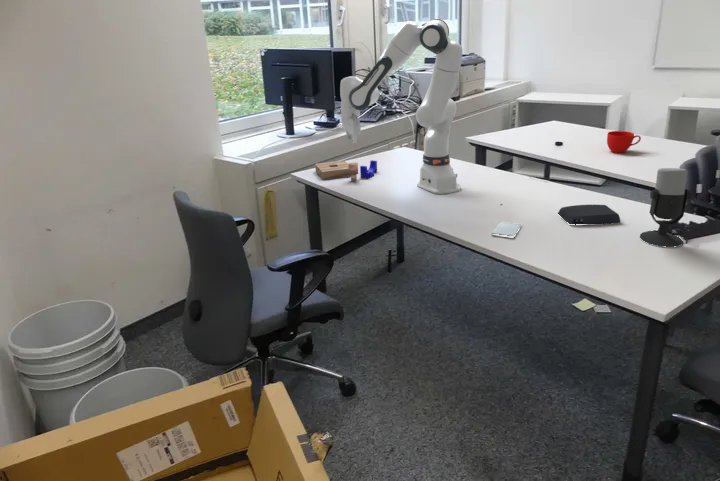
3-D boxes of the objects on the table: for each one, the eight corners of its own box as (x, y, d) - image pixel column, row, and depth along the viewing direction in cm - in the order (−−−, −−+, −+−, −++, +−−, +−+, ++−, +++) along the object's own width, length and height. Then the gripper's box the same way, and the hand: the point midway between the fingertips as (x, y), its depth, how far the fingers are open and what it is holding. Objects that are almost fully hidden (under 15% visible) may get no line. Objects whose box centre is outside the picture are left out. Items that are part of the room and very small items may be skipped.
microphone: (673, 232, 179) (689, 163, 169) (689, 248, 167) (707, 175, 157) (634, 231, 181) (647, 163, 171) (647, 247, 169) (662, 175, 159)
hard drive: (514, 236, 180) (522, 223, 190) (491, 232, 183) (500, 220, 193) (514, 240, 180) (521, 227, 190) (491, 237, 184) (499, 224, 194)
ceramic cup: (642, 154, 270) (645, 136, 266) (608, 154, 273) (611, 136, 269) (634, 148, 282) (637, 130, 278) (601, 148, 285) (604, 131, 281)
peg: (359, 181, 250) (358, 164, 247) (350, 182, 249) (349, 165, 246) (356, 178, 255) (356, 162, 251) (348, 179, 253) (347, 163, 250)
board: (353, 175, 259) (352, 167, 258) (322, 179, 255) (322, 171, 254) (344, 167, 273) (344, 160, 272) (315, 171, 269) (315, 164, 268)
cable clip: (368, 178, 254) (368, 167, 251) (360, 177, 256) (360, 166, 254) (379, 172, 263) (379, 161, 261) (372, 171, 265) (371, 160, 263)
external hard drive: (556, 215, 200) (557, 205, 199) (604, 212, 201) (606, 202, 199) (569, 227, 188) (571, 217, 187) (621, 224, 189) (623, 214, 187)
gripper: (363, 115, 230) (364, 145, 236) (351, 108, 248) (352, 136, 254) (350, 116, 228) (351, 146, 234) (338, 109, 246) (340, 137, 252)
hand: (351, 141), depth 244 cm, fingers open, 8 cm apart
